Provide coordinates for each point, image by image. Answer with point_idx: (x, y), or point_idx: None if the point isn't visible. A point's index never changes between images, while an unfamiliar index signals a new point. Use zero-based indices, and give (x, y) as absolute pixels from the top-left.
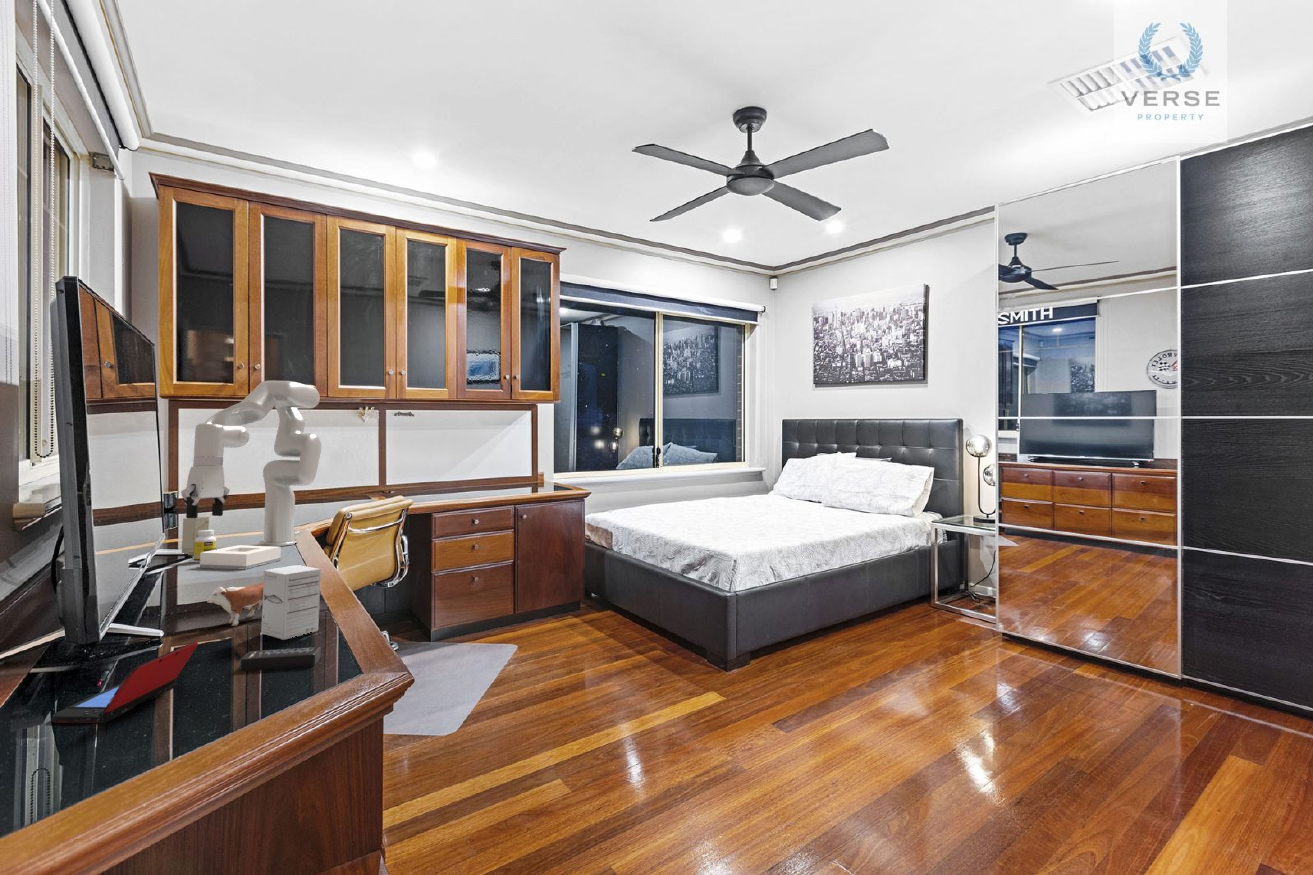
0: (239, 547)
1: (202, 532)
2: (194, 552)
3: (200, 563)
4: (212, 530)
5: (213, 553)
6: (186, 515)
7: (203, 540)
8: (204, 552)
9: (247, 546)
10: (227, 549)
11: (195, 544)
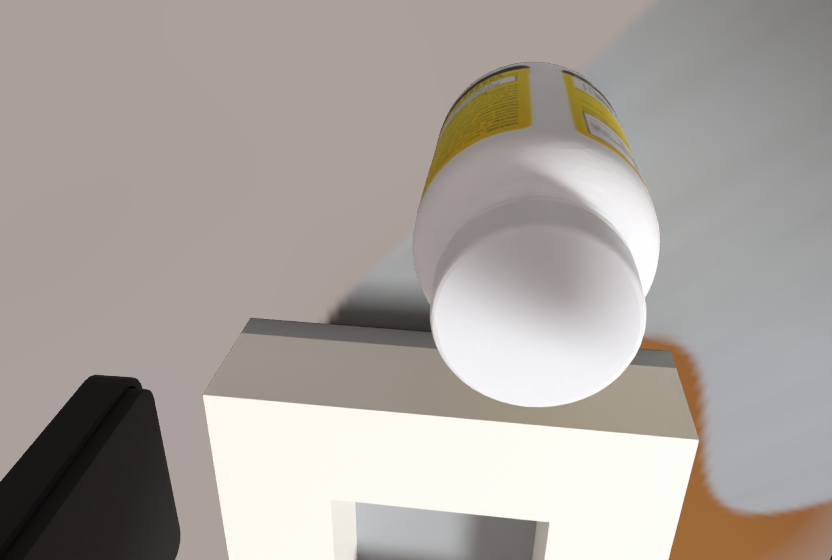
0: (546, 519)
1: (434, 327)
2: (446, 130)
3: (238, 340)
4: (547, 404)
5: (219, 492)
6: (70, 403)
7: (427, 299)
8: (217, 420)
9: (616, 546)
10: (414, 492)
11: (430, 177)
